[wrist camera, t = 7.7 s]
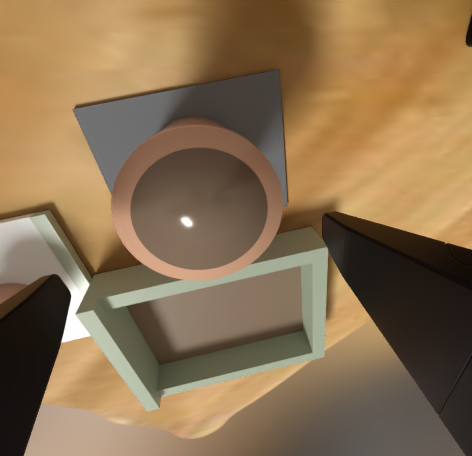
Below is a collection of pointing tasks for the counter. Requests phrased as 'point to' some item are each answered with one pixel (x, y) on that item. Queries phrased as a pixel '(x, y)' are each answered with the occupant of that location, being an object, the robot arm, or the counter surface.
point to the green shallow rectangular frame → (211, 319)
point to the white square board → (43, 260)
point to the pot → (196, 201)
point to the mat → (183, 105)
